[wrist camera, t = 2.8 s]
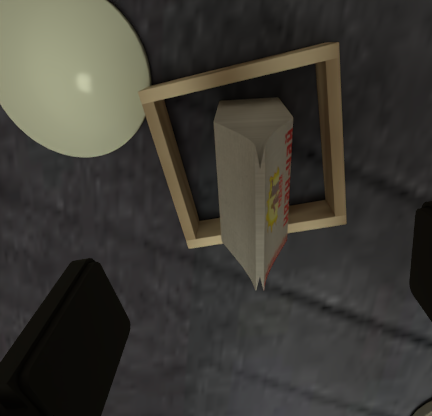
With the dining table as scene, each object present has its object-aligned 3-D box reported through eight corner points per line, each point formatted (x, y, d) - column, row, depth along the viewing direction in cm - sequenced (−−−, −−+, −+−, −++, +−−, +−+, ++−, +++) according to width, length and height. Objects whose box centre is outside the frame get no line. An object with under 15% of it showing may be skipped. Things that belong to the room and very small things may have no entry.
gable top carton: (225, 195, 23) (217, 291, 14) (219, 100, 20) (206, 147, 11) (275, 194, 23) (300, 290, 14) (278, 97, 20) (312, 142, 11)
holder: (326, 42, 18) (339, 42, 16) (336, 206, 23) (346, 223, 21) (148, 86, 20) (137, 91, 17) (193, 230, 24) (188, 248, 22)
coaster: (117, -44, 17) (112, -48, 16) (171, 137, 21) (169, 140, 20) (-41, 7, 18) (-52, 5, 17) (40, 165, 23) (34, 169, 22)
